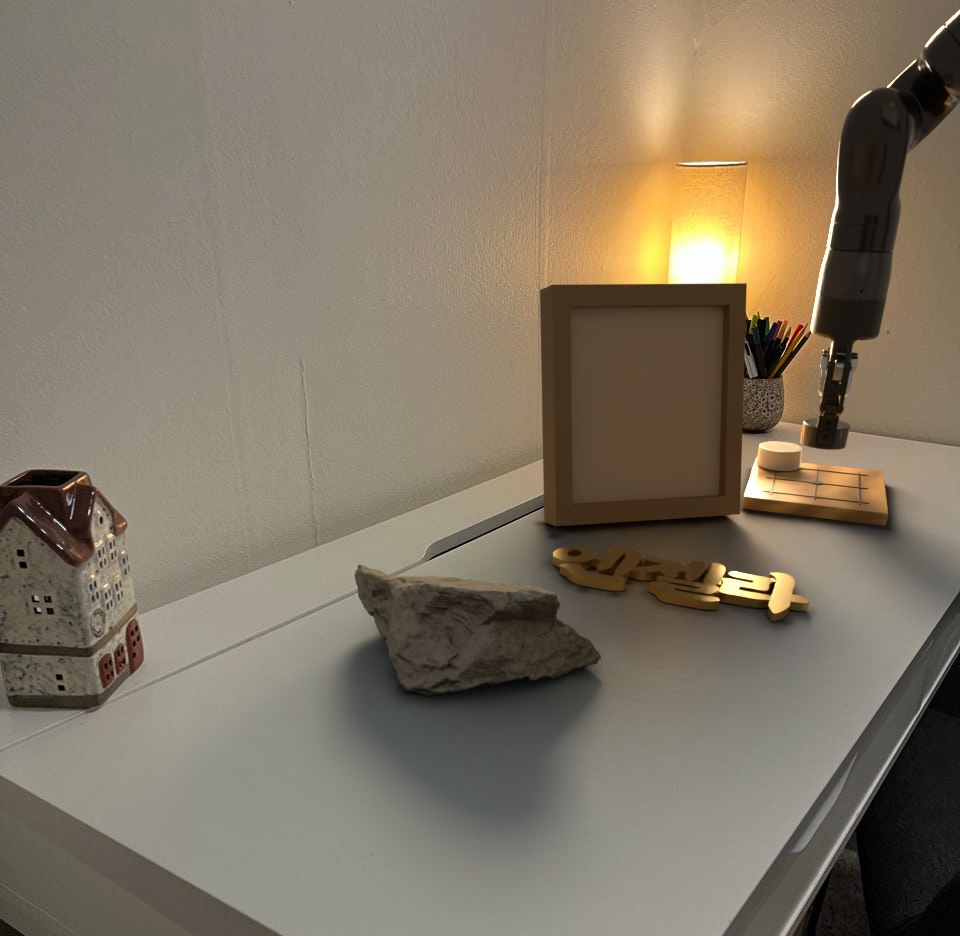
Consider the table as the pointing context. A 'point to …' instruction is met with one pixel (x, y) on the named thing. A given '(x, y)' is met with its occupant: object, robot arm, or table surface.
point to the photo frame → (642, 401)
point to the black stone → (810, 433)
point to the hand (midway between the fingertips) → (824, 440)
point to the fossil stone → (469, 631)
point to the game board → (819, 493)
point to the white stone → (779, 456)
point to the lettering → (680, 580)
